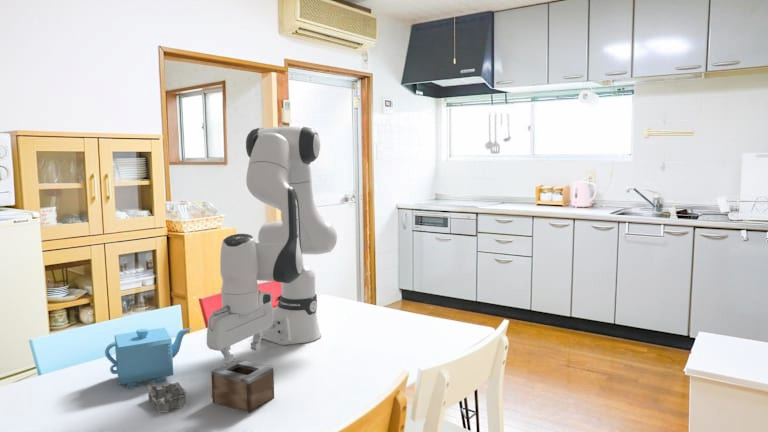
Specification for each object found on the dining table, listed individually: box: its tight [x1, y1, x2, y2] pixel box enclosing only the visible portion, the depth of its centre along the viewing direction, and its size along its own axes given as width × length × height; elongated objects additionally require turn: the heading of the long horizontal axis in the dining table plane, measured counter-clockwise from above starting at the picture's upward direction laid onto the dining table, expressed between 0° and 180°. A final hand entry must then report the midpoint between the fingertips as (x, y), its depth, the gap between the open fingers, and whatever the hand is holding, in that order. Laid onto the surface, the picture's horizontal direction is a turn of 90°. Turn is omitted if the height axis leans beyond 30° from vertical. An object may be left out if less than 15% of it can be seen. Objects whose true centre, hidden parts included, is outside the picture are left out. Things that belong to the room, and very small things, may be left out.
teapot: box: [104, 327, 192, 389], centre depth 151 cm, size 22×11×14 cm, turn 120°
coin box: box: [210, 358, 275, 414], centre depth 137 cm, size 12×9×8 cm
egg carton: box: [147, 381, 188, 413], centre depth 137 cm, size 11×8×4 cm
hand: (242, 355), depth 137 cm, fingers open, 8 cm apart
